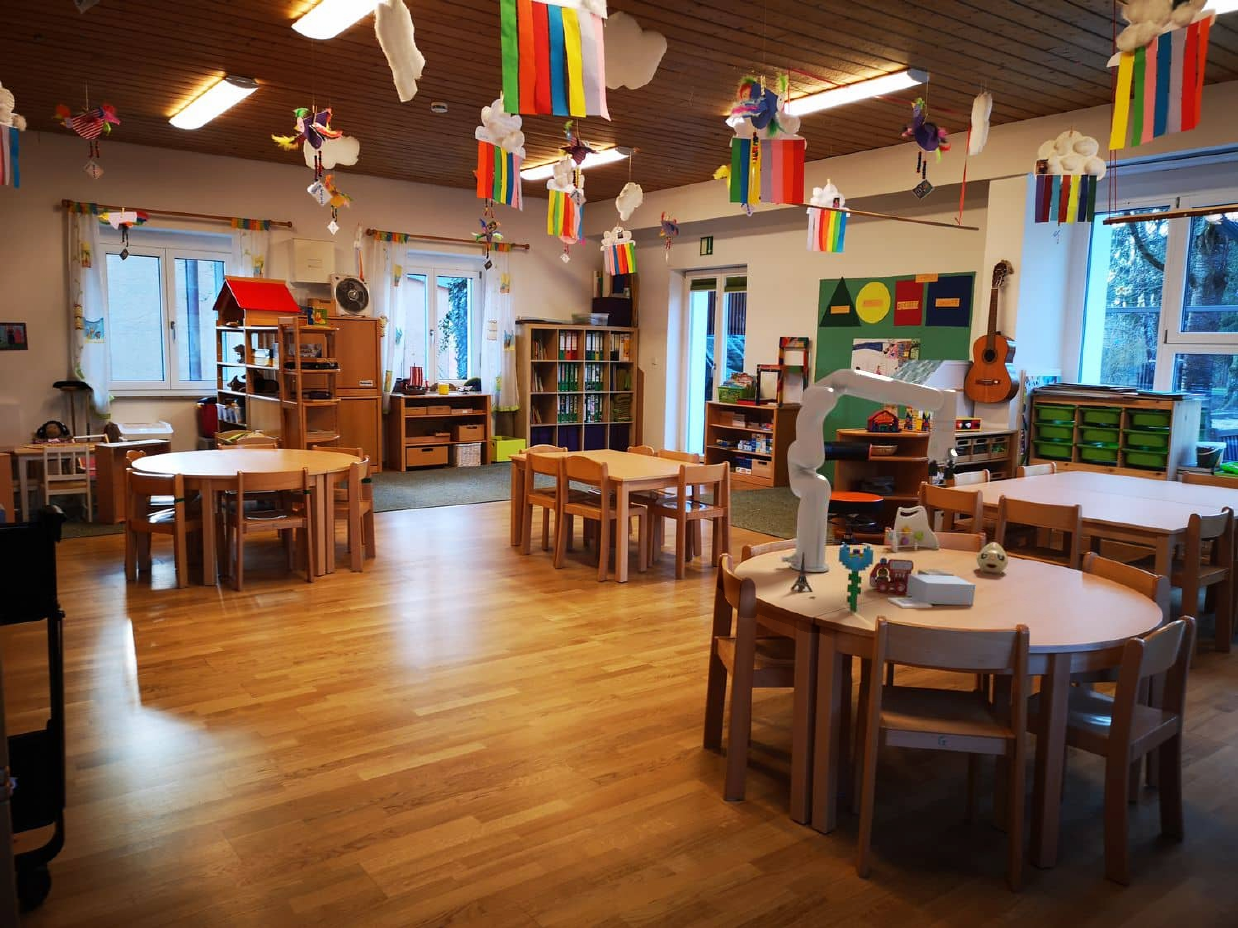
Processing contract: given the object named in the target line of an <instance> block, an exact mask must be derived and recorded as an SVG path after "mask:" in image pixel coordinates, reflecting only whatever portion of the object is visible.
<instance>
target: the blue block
mask: <svg viewBox="0 0 1238 928" xmlns="http://www.w3.org/2000/svg"><path fill="white" fill-rule="evenodd" d="M975 591H976V584H975V583H973V582H970V581H967V580H965V579H964V578H960V577H958V576H957V575H954V576H943V575H918V573H917V574H912V573H911V574H909V575H908V585H907V592H906V595H908V596H910V597H911V598H912V597H913V598H915V599H917V600H919V601H921V602H923V603H925V604H930V605H954V606H955V605H958V606H959V605H960V606H961V605H962V606H963V605H964V606H974V600H975Z"/></svg>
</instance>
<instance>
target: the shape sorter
mask: <svg viewBox="0 0 1238 928" xmlns="http://www.w3.org/2000/svg"><path fill="white" fill-rule="evenodd" d="M916 511H918V512H916ZM914 512H916V513H914ZM901 513H905V514H908V513H909V514H910V513H914V514H912V515H909V516H903V515H901ZM894 520H895V521H894V527H893V531H892V530H891V531H889V534H888V538H889V541H891V543H890V550H891V549H892V550H893V551H892V550H891V551H892V552H894V553H896V552H897V553H898V548H903V547H913V550H918V547H921V548H927V549H931V550H937V549H938V550H937V551H939V550H940V546H939V545H940V544H939V540H938V537H937V536H936V534H935V533H934V532H933V531H932V529H931V527H930V525H929V522H928V521H929V520H928V514H927V511H926V508H925V507H924V506H922V505H918V506H914V507H911V508H904V507H901V506H900V507H898V509H897V512H896V517H895V519H894ZM897 532H912V533H913V534H911V533H897Z"/></svg>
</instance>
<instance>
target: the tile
mask: <svg viewBox="0 0 1238 928" xmlns="http://www.w3.org/2000/svg"><path fill="white" fill-rule="evenodd" d="M887 601H888V602H891V603H892V604H894V605H896V606H898V607H899V608H902V609H919V608H920V609H927V608H930V609H931V608H933V604H925V603H923V602H921V601H919V600H917V599H915V598H913V597H912V596H911V597H888V598H887Z"/></svg>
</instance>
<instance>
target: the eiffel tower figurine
mask: <svg viewBox="0 0 1238 928" xmlns="http://www.w3.org/2000/svg"><path fill="white" fill-rule="evenodd" d="M804 555H805V553H804V550H803V553H802V563H801V570H799V571H800V572H799V573H798V577H797V580H795V582H794V584H793V585H792V586H791V587H790V590H795V588H796V587H798V590H797V593H798V594H802V589H807V590H808V591H809V592H810V593H813V592H814V591H813V590H812V588H811V586H810V585H809V584H810V583H809V582H808V579H807V577H806V571H805V567H804ZM815 598H816V596H809V597H808V599H812V600H813V599H815Z"/></svg>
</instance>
